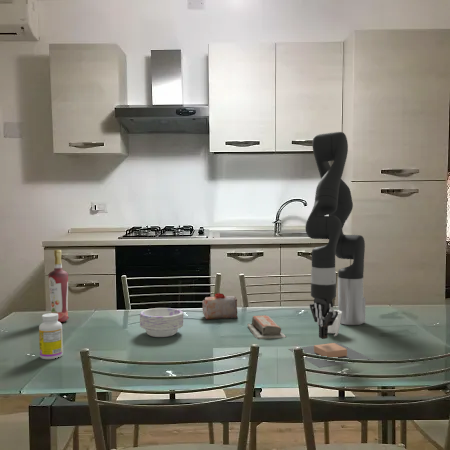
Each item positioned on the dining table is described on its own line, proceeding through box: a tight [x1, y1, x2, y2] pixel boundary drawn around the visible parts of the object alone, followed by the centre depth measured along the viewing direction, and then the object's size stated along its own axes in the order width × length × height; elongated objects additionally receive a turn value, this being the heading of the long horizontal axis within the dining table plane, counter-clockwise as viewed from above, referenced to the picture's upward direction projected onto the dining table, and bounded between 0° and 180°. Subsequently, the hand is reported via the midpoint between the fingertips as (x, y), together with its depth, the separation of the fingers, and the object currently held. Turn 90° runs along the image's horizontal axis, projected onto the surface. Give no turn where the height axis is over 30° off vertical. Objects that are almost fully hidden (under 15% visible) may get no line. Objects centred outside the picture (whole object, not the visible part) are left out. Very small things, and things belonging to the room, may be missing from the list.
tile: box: [313, 342, 347, 357], centre depth 148 cm, size 7×2×7 cm
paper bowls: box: [139, 307, 184, 338], centre depth 174 cm, size 15×15×8 cm
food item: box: [201, 292, 239, 320], centre depth 197 cm, size 14×8×10 cm, turn 98°
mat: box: [288, 342, 374, 369], centre depth 149 cm, size 18×18×1 cm
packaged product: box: [246, 314, 287, 340], centre depth 175 cm, size 18×5×10 cm
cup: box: [328, 309, 342, 337], centre depth 170 cm, size 7×10×8 cm
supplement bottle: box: [38, 312, 64, 360], centre depth 150 cm, size 7×7×13 cm
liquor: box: [48, 249, 70, 324], centre depth 192 cm, size 7×7×28 cm
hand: (323, 337), depth 151 cm, fingers closed
